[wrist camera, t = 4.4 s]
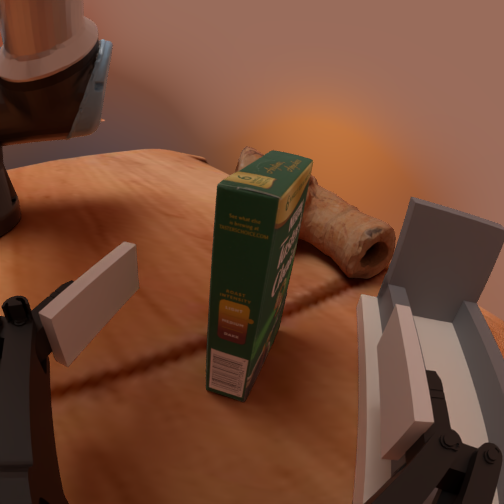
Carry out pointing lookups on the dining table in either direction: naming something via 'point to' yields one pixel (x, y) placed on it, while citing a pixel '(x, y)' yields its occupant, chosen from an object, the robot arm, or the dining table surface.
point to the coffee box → (252, 266)
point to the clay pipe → (340, 229)
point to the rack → (435, 333)
